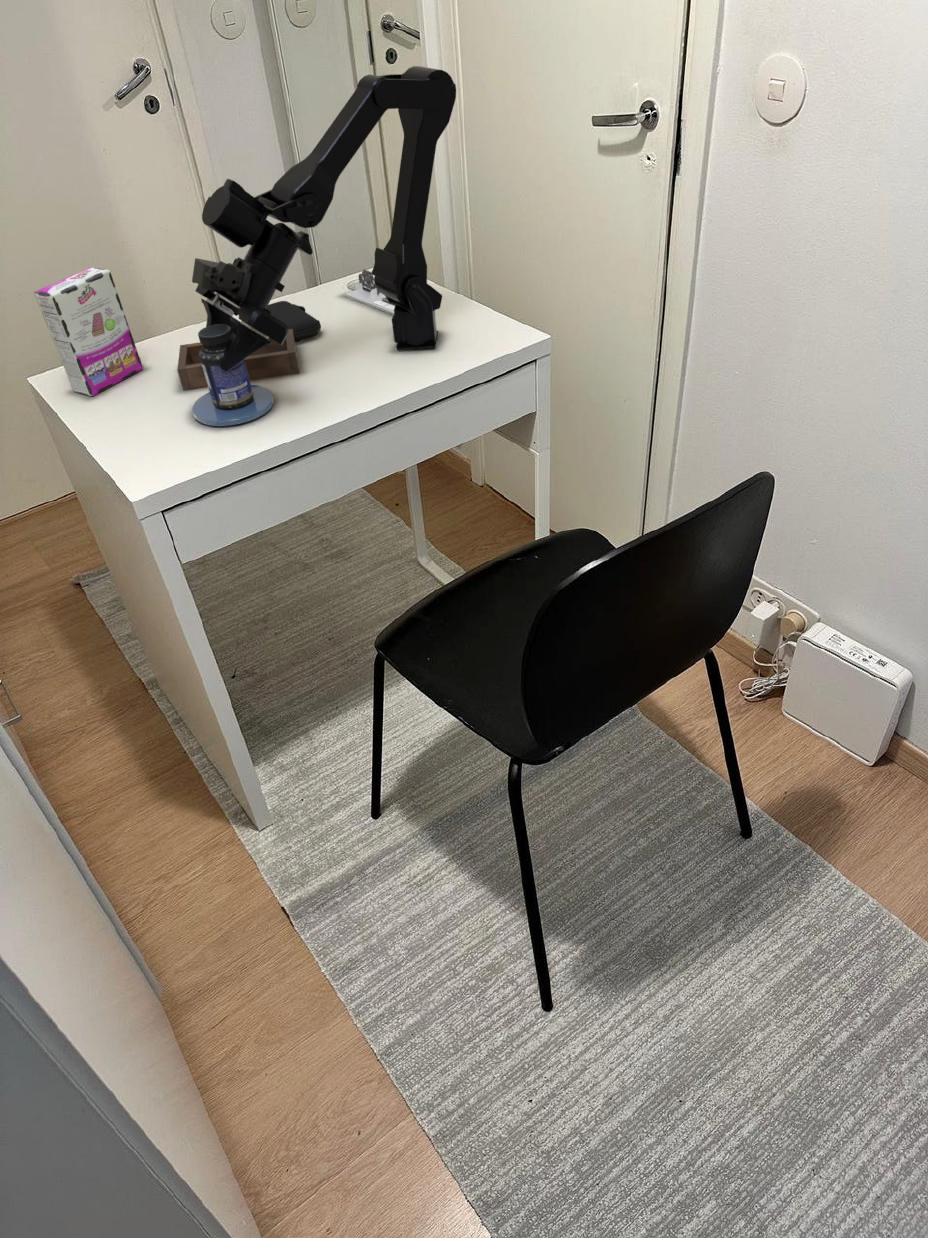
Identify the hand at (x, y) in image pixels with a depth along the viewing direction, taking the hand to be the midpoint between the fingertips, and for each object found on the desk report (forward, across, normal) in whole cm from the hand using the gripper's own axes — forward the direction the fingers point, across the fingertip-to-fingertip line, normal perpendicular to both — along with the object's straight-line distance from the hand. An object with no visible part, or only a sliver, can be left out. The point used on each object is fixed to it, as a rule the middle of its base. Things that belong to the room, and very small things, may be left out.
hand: (213, 362), depth 130 cm
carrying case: (-9, -21, +21) cm, 31 cm away
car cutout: (-23, -21, +35) cm, 47 cm away
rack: (0, -12, +11) cm, 17 cm away
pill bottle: (+4, 0, +6) cm, 7 cm away
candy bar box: (+13, -24, -2) cm, 28 cm away
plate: (+5, 0, +6) cm, 8 cm away
